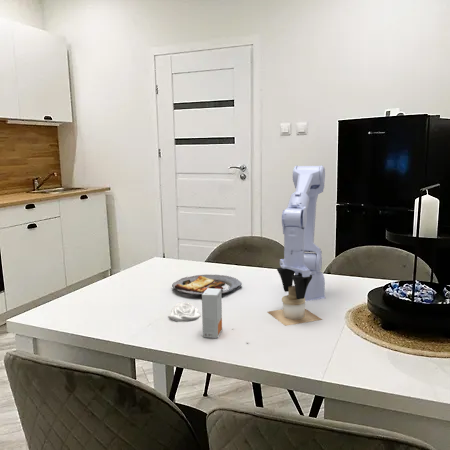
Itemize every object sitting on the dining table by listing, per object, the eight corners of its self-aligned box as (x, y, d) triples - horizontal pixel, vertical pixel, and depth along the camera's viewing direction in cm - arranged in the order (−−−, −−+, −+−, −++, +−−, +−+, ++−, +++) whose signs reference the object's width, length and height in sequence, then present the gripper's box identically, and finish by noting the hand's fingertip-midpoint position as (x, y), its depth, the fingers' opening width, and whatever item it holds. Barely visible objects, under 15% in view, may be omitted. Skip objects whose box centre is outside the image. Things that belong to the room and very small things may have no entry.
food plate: (214, 303, 148) (214, 292, 147) (159, 293, 160) (159, 283, 159) (251, 285, 169) (251, 276, 168) (199, 278, 181) (199, 269, 180)
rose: (182, 295, 143) (207, 300, 138) (182, 309, 144) (207, 314, 139) (161, 305, 135) (186, 310, 130) (161, 319, 136) (187, 325, 130)
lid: (298, 296, 137) (299, 283, 137) (309, 303, 131) (309, 289, 130) (278, 298, 135) (278, 285, 135) (287, 306, 129) (287, 292, 128)
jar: (298, 310, 138) (298, 296, 137) (308, 317, 132) (309, 302, 131) (279, 313, 136) (279, 299, 135) (289, 320, 130) (289, 305, 129)
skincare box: (218, 338, 120) (217, 295, 118) (202, 337, 121) (201, 294, 119) (222, 329, 126) (221, 288, 124) (207, 328, 127) (206, 287, 125)
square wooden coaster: (301, 308, 142) (301, 306, 142) (322, 321, 130) (322, 319, 130) (266, 313, 138) (266, 311, 138) (285, 327, 126) (285, 325, 126)
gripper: (270, 246, 136) (270, 289, 138) (294, 256, 123) (293, 304, 125) (291, 243, 138) (291, 286, 141) (316, 253, 125) (316, 300, 127)
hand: (293, 294), depth 133 cm, fingers open, 7 cm apart
